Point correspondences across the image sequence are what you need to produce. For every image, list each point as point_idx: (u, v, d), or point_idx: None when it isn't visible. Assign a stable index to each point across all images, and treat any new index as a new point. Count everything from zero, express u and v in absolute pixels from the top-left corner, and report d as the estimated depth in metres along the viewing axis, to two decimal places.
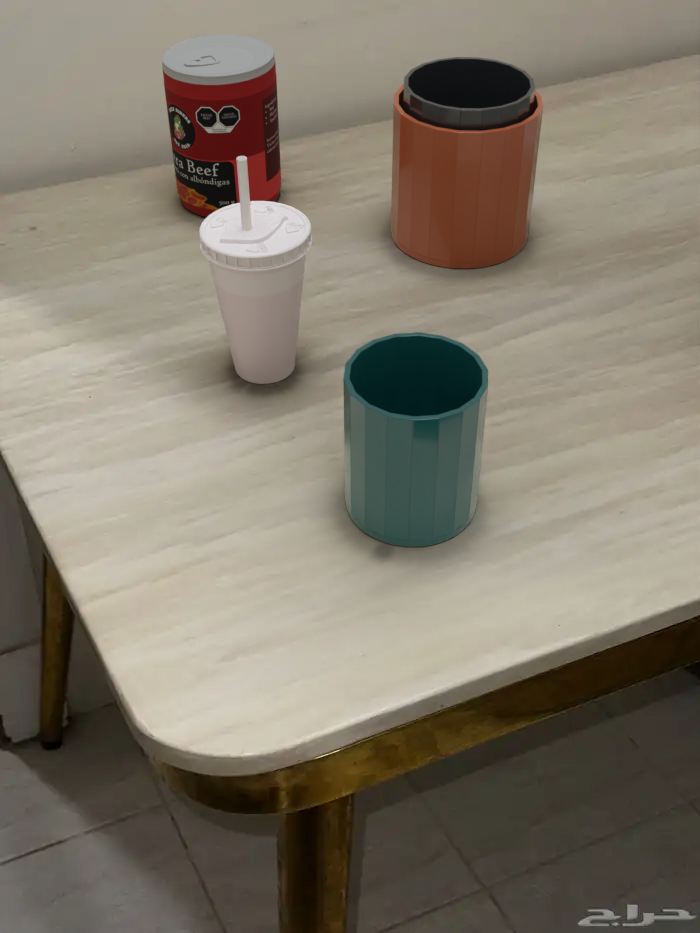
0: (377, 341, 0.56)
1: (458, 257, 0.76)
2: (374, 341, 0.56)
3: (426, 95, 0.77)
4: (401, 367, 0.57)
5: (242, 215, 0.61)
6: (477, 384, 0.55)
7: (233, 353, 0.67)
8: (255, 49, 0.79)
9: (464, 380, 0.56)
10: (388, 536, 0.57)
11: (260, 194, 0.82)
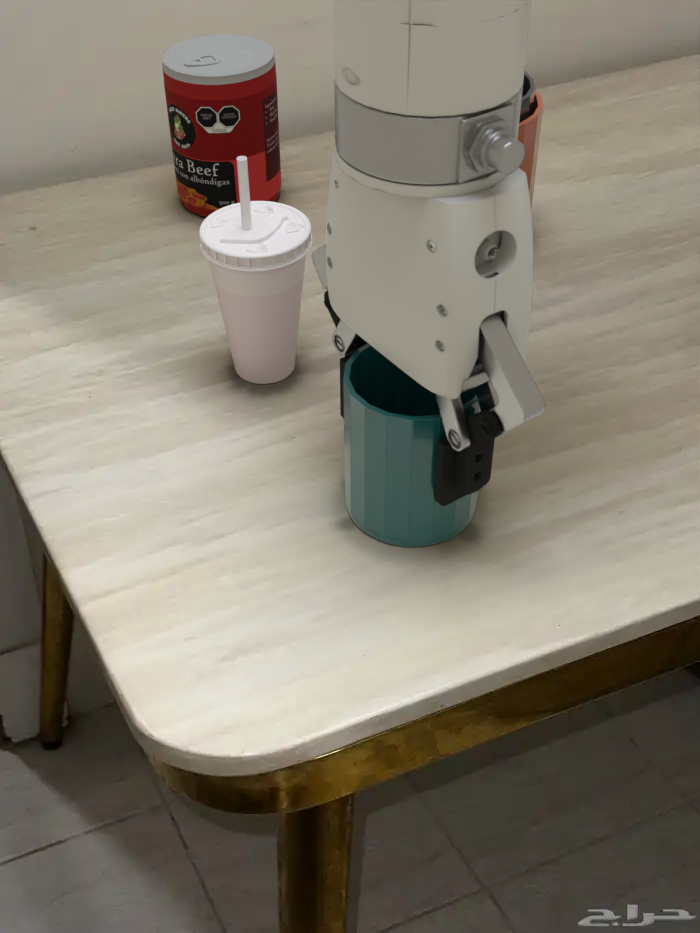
0: None
1: None
2: None
3: None
4: None
5: (242, 215, 0.61)
6: None
7: (233, 353, 0.67)
8: (256, 49, 0.79)
9: None
10: (388, 536, 0.57)
11: (260, 194, 0.82)
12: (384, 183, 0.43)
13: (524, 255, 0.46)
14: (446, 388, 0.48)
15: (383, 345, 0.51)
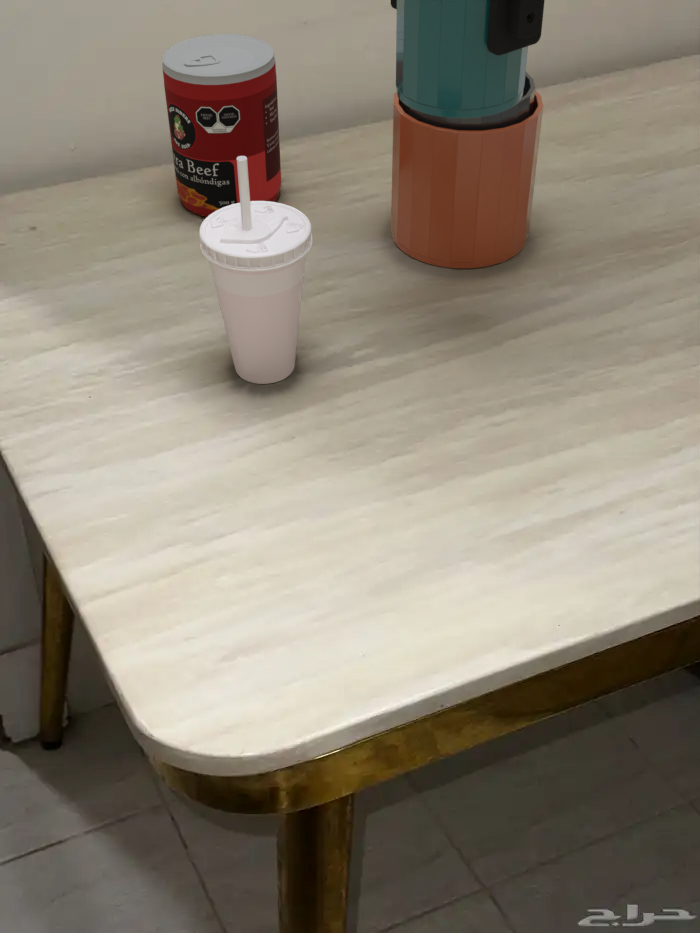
0: None
1: (458, 257, 0.76)
2: None
3: None
4: None
5: (242, 215, 0.61)
6: None
7: (233, 353, 0.67)
8: (256, 49, 0.79)
9: None
10: (440, 107, 0.58)
11: (260, 194, 0.82)
12: None
13: None
14: None
15: None
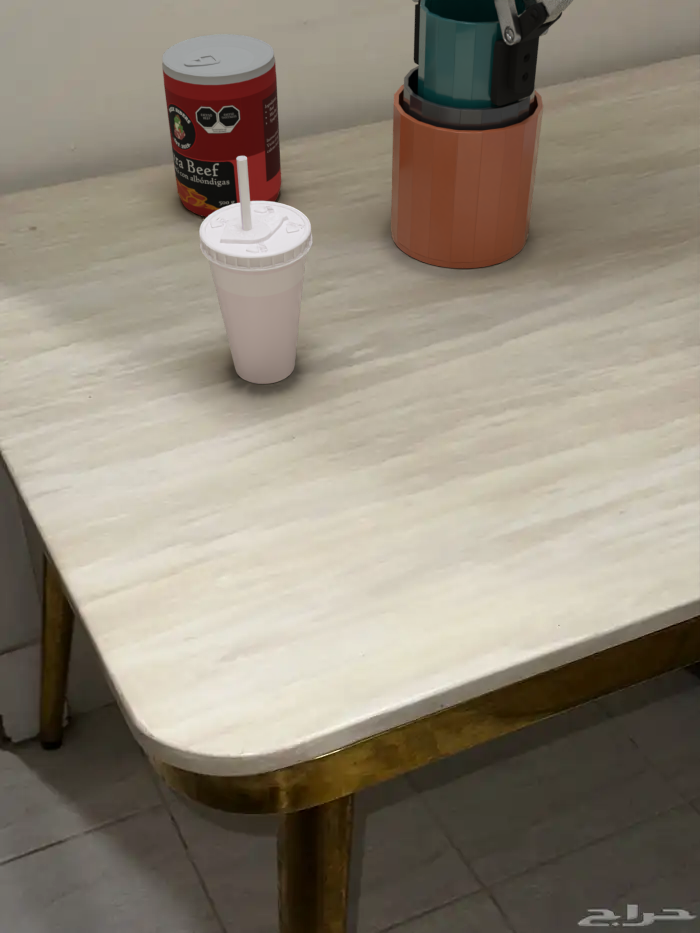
0: None
1: (458, 257, 0.76)
2: None
3: None
4: (461, 16, 0.73)
5: (242, 215, 0.61)
6: None
7: (233, 353, 0.67)
8: (255, 49, 0.79)
9: None
10: None
11: (260, 194, 0.82)
12: None
13: None
14: None
15: None
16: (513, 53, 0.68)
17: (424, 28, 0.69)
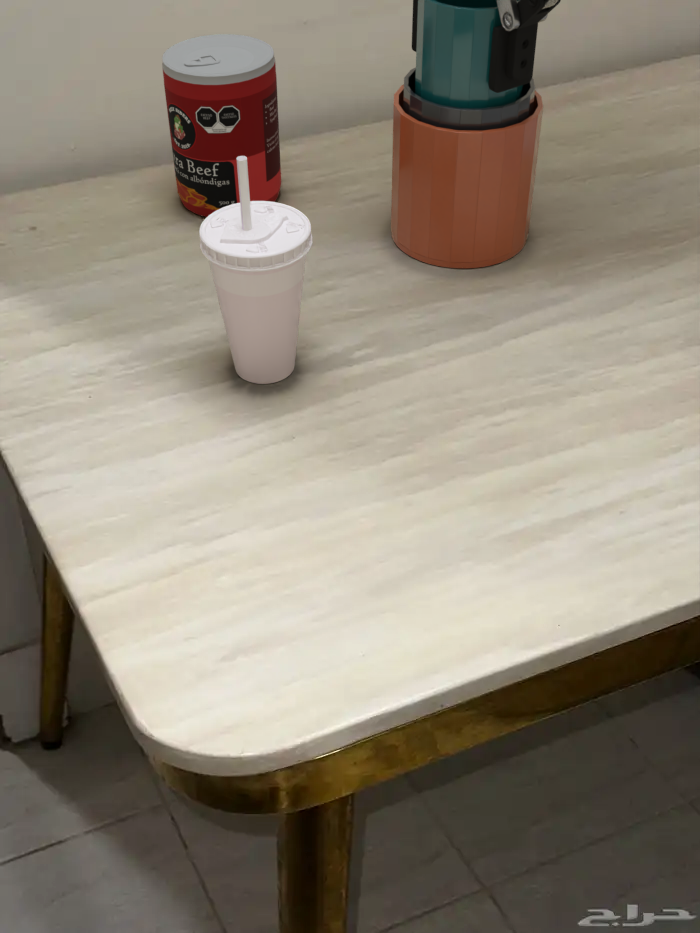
0: None
1: (458, 257, 0.76)
2: None
3: None
4: (460, 3, 0.73)
5: (242, 215, 0.61)
6: None
7: (233, 353, 0.67)
8: (255, 49, 0.79)
9: None
10: None
11: (260, 194, 0.82)
12: None
13: None
14: None
15: None
16: (511, 39, 0.67)
17: (422, 14, 0.69)
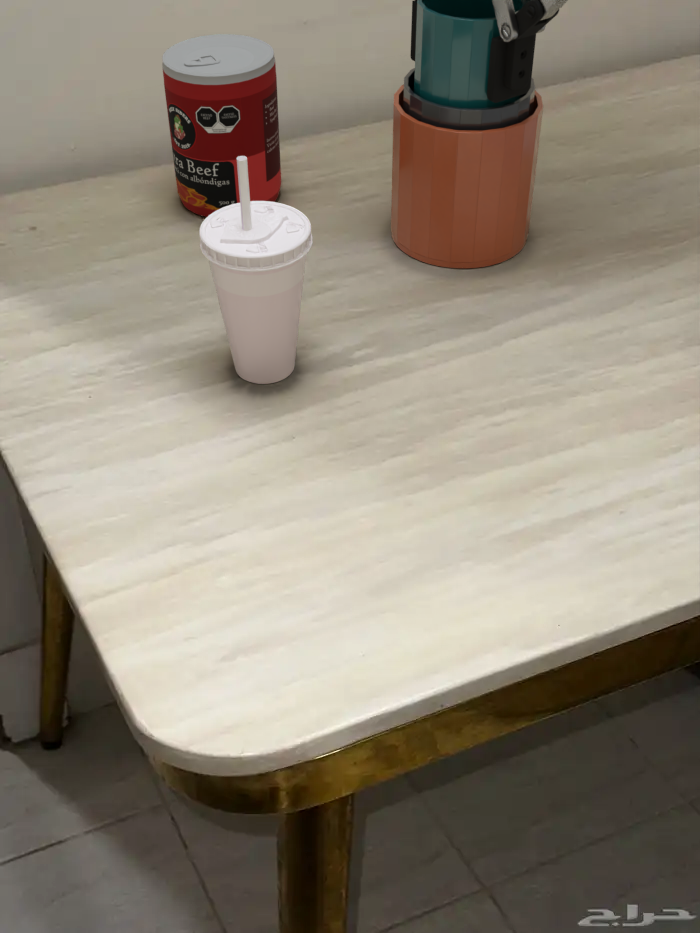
0: None
1: (458, 257, 0.76)
2: None
3: None
4: (458, 13, 0.73)
5: (242, 215, 0.61)
6: None
7: (233, 353, 0.67)
8: (256, 49, 0.79)
9: None
10: None
11: (260, 194, 0.82)
12: None
13: None
14: None
15: None
16: (510, 50, 0.67)
17: (421, 24, 0.69)
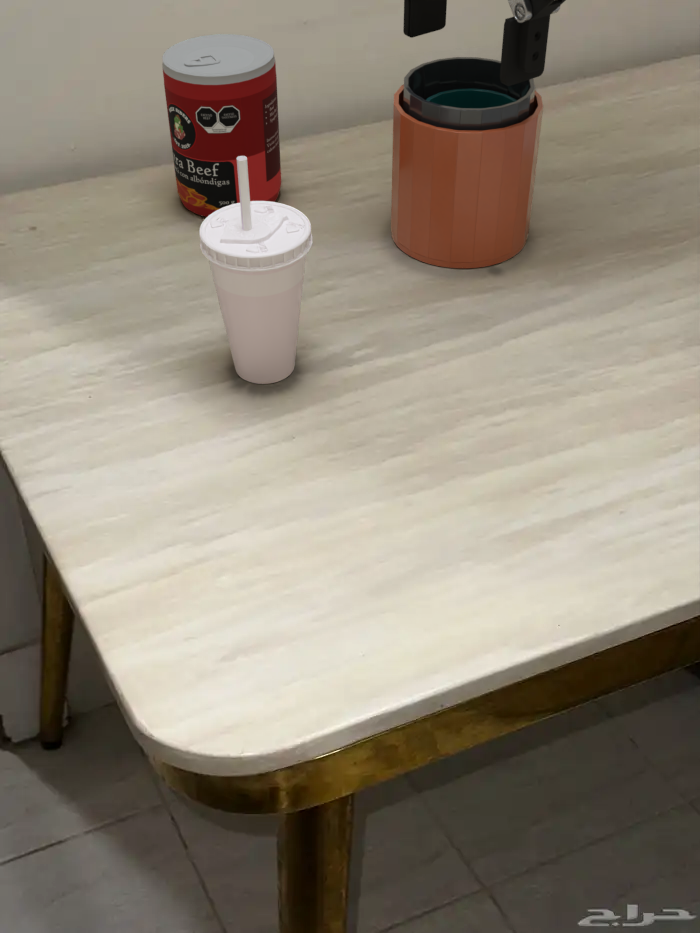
0: (442, 93, 0.76)
1: (458, 257, 0.76)
2: (440, 93, 0.76)
3: (426, 95, 0.77)
4: None
5: (242, 215, 0.61)
6: None
7: (233, 353, 0.67)
8: (256, 49, 0.79)
9: None
10: None
11: (260, 194, 0.82)
12: None
13: None
14: None
15: None
16: (523, 31, 0.66)
17: None
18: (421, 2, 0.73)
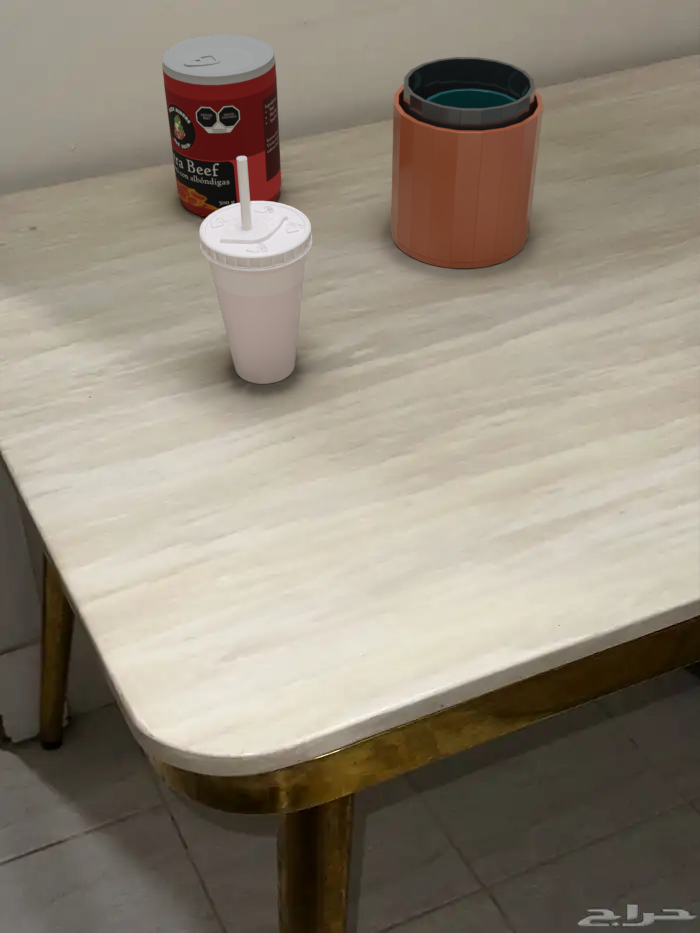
0: (442, 93, 0.76)
1: (458, 257, 0.76)
2: (440, 93, 0.76)
3: (426, 95, 0.77)
4: None
5: (242, 215, 0.61)
6: None
7: (233, 353, 0.67)
8: (256, 49, 0.79)
9: None
10: None
11: (260, 194, 0.82)
12: None
13: None
14: None
15: None
16: None
17: None
18: None
